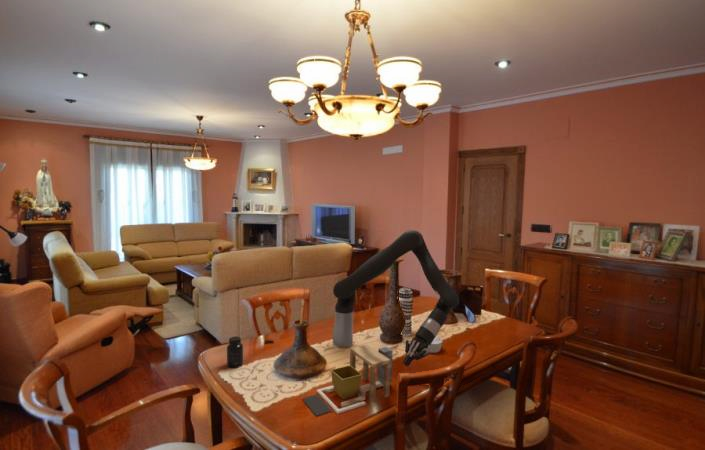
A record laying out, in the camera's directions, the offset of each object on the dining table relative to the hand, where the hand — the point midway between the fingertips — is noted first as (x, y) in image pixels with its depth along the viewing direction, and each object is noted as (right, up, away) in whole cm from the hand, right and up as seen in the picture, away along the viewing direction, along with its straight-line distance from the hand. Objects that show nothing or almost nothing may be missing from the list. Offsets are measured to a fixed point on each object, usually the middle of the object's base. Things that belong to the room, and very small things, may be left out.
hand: (404, 364), depth 154 cm
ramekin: (+17, -4, +31) cm, 36 cm away
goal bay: (-26, -7, -15) cm, 31 cm away
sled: (-18, -6, -10) cm, 21 cm away
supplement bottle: (-73, -4, +9) cm, 74 cm away
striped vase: (+6, -2, +51) cm, 52 cm away
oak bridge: (-15, -6, -9) cm, 19 cm away
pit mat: (-35, -7, -20) cm, 41 cm away
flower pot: (-24, -7, -13) cm, 28 cm away
